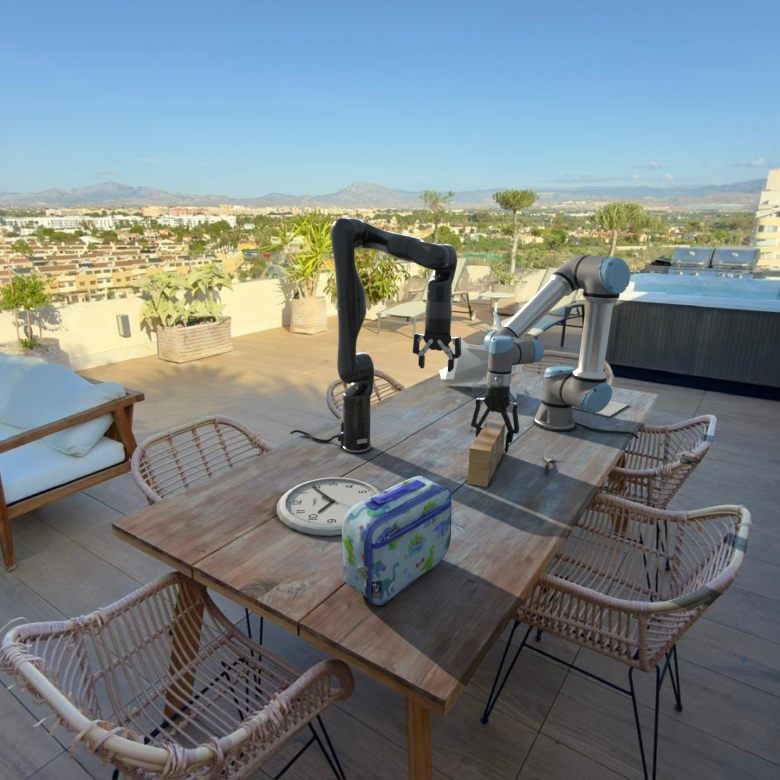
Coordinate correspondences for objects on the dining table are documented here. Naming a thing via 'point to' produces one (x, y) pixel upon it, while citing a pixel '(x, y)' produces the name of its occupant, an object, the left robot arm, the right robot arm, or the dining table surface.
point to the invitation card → (611, 408)
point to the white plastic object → (476, 365)
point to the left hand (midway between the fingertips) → (435, 369)
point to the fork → (548, 460)
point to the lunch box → (395, 537)
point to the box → (486, 453)
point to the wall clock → (322, 504)
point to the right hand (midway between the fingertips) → (493, 448)
